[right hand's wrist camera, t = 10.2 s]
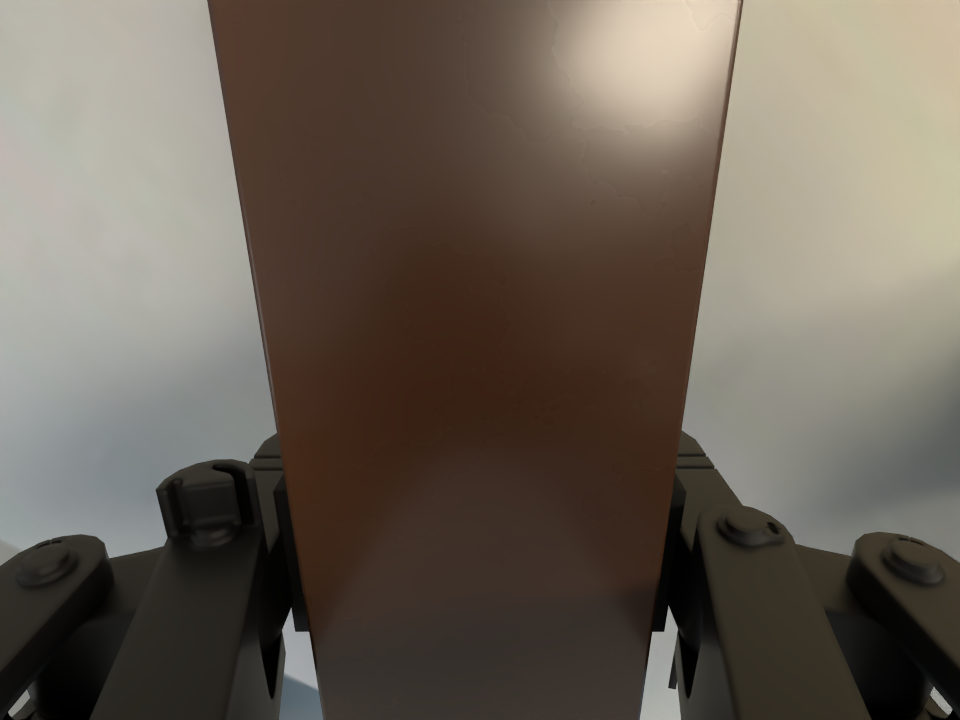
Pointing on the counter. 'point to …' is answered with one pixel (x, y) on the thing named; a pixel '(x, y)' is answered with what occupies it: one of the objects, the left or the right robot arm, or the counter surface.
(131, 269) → the counter surface
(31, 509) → the counter surface
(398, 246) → the walnut beam
